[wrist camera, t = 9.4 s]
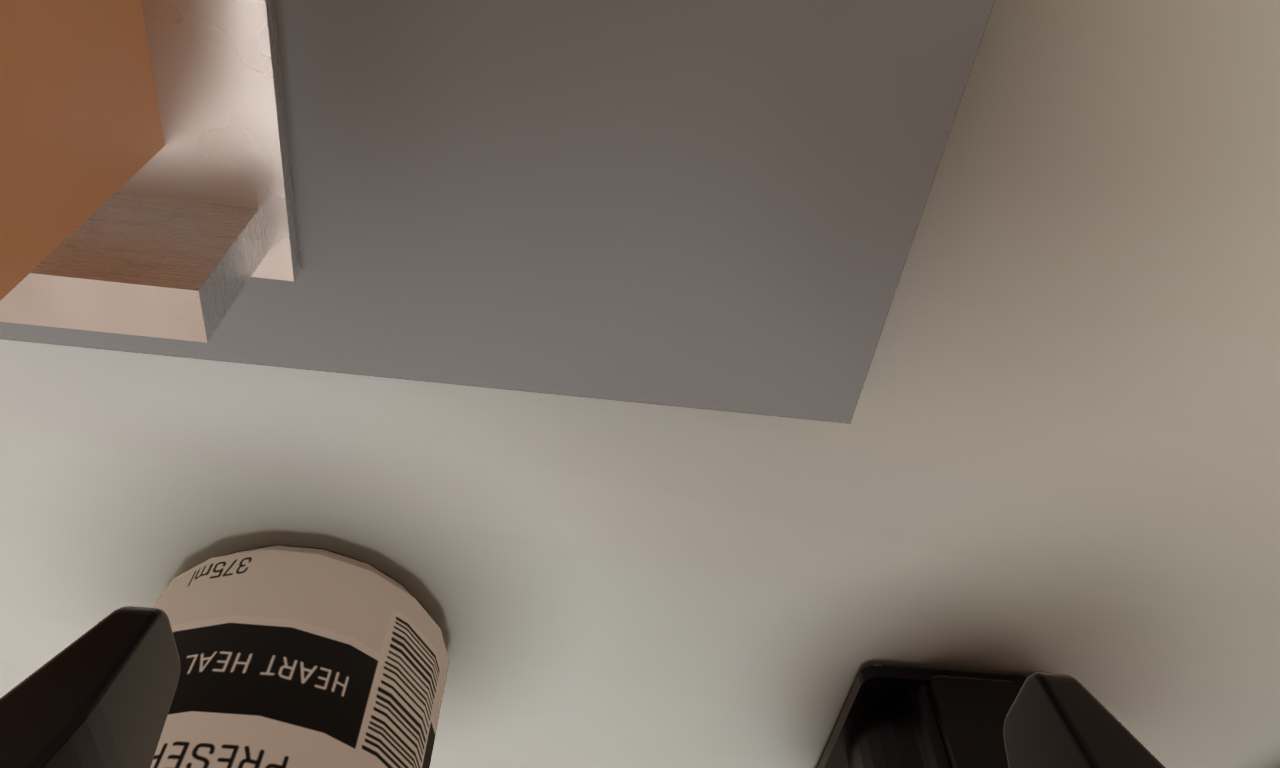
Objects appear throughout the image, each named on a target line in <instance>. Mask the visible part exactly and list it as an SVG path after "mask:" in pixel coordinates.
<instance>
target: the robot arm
mask: <svg viewBox="0 0 1280 768" xmlns="http://www.w3.org/2000/svg"><path fill="white" fill-rule="evenodd" d="M179 676H180V657H179V654H178V650H177V647H176V643H175V639H174V636H173V632H172V628H171V625H170V621H169V618H168V616H167V614H166V613H165V612H164V611H163V610H162V609H158V608H146V607H132V606H129V607H122V608H120V609H117V610H115V611H114V612H112V613H111V614H110V615H108V616H107V617H106V618H104V619H103V620H102V621H100V622H99V623H98V624H97V625H95V626H94V627H93V628H91V629H90V630H89V631H87V632H86V633H85V634H84V635H82V636H81V637H80V638H78V639H77V640H76V641H74V642H73V643H72V644H71V645H69V646H68V647H67V648H65V649H64V650H63V651H61V652H60V653H59V654H58V655H56V656H55V657H54V658H52V659H51V660H50V661H48V662H47V663H46V664H45V665H43V666H42V667H41V668H39V669H38V670H37V671H35V672H34V673H33V674H32V675H30V676H29V677H28V678H26V679H25V680H24V681H22V682H21V683H20V684H19V685H17V686H16V687H15V688H13V689H12V690H11V691H9V692H8V693H7V694H5V695H4V696H3V697H2V698H0V768H150V767H151V764H152V761H153V758H154V755H155V752H156V749H157V746H158V743H159V740H160V737H161V734H162V731H163V728H164V725H165V722H166V719H167V715H168V712H169V709H170V706H171V703H172V700H173V697H174V694H175V691H176V688H177V685H178V681H179ZM817 768H1165V767H1164V766H1163V765H1162V764H1161V763H1160V762H1159V761H1158V760H1157V759H1156V758H1155V757H1154V756H1153V755H1152V754H1151V753H1150V752H1149V751H1148V750H1147V749H1146V748H1145V747H1144V746H1143V745H1142V744H1141V743H1140V742H1139V741H1138V740H1137V739H1136V738H1135V737H1134V736H1133V735H1132V734H1131V733H1130V732H1129V731H1128V730H1127V729H1126V728H1125V727H1124V726H1123V725H1122V724H1121V723H1120V722H1119V721H1118V720H1117V719H1116V718H1115V717H1114V716H1113V715H1112V714H1111V713H1110V712H1109V711H1108V710H1107V709H1106V708H1105V707H1104V706H1103V705H1102V704H1101V703H1100V702H1099V701H1098V700H1097V699H1096V698H1095V697H1094V696H1093V695H1092V694H1091V693H1090V692H1089V691H1088V690H1087V689H1086V688H1085V687H1084V686H1083V685H1082V684H1081V683H1080V682H1078V681H1077V680H1076V679H1075V678H1073V677H1071V676H1069V675H1066V674H1057V673H1043V672H1035V673H1033V674H1031V675H1030V676H1028V677H1022V676H1009V675H995V674H982V673H969V672H956V671H943V670H930V669H917V668H904V667H891V666H870V667H867V668H865V669H863V670H862V671H861V672H860V673H859V674H858V676H857V678H856V681H855V683H854V685H853V687H852V690H851V692H850V694H849V697H848V699H847V701H846V703H845V706H844V708H843V710H842V713H841V715H840V717H839V719H838V722H837V724H836V726H835V728H834V731H833V733H832V735H831V738H830V740H829V742H828V744H827V747H826V749H825V751H824V754H823V756H822V758H821V760H820V763H819V765H818V767H817Z"/></svg>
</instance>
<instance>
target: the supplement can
mask: <svg viewBox="0 0 1280 768" xmlns="http://www.w3.org/2000/svg"><path fill="white" fill-rule="evenodd" d="M153 608H158V609H162V610H163V611H164V612H165V613H166V614H167V616H168V618H169V621H170V625H171V628H172V632H173V636H174V639H175V643H176V647H177V650H178V654H179V657H180V676H179V681H178V685H177V688H176V691H175V694H174V697H173V700H172V703H171V706H170V709H169V712H168V715H167V719H166V722H165V725H164V728H163V731H162V734H161V737H160V740H159V743H158V746H157V749H156V752H155V755H154V758H153V761H152V764H151V767H150V768H429V766H430V761H431V755H432V750H433V745H434V739H435V734H436V729H437V723H438V718H439V713H440V708H441V702H442V697H443V692H444V686H445V681H446V676H447V670H448V665H449V659H448V655H447V651H446V647H445V643H444V640H443V636H442V632H441V629H440V628H439V627H438V625H437V624H436V623H435V622H434V621H433V619H432V618H431V617H430V616H429V615H428V613H427V612H426V611H425V610H424V609H423V607H422V606H421V605H420V604H419V603H418V601H417V600H416V599H415V598H414V597H412V596H411V595H410V594H409V593H408V592H407V590H406V589H405V588H404V587H403V586H402V585H401V584H399V583H397V582H396V581H394V580H393V579H391V578H389V577H388V576H386V575H385V574H383V573H381V572H380V571H378V570H377V569H375V568H373V567H372V566H370V565H369V564H367V563H364V562H361V561H357V560H354V559H351V558H348V557H345V556H342V555H339V554H336V553H333V552H330V551H327V550H323V549H312V548H300V547H288V546H271V547H265V548H259V549H253V550H248V551H242V552H236V553H233V554H231V555H226V556H220V557H214V558H210V559H208V560H206V561H205V562H203V563H201V564H199V565H197V566H195V567H193V568H192V569H190V570H188V571H186V572H184V573H182V574H181V575H179V576H177V577H175V578H173V579H172V581H171V582H170V584H169V585H168V587H167V588H166V590H165V591H164V593H163V594H162V595H161V597H160V598H159V600H158V601H157V603H156V604H155V606H154V607H153Z"/></svg>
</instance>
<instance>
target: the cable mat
mask: <svg viewBox="0 0 1280 768" xmlns="http://www.w3.org/2000/svg"><path fill="white" fill-rule="evenodd" d="M994 2H995V0H276V10H277V20H278V31H279V41H280V52H281V63H282V73H283V84H284V94H285V105H286V115H287V126H288V136H289V147H290V157H291V168H292V178H293V189H294V199H295V210H296V220H297V231H298V241H299V252H300V262H301V270H300V272H299V273H298V275H297V277H296V279H295V280H294V281H285V280H276V279H266V278H257V277H251V278H250V279H249V281H248V282H247V284H246V285H245V287H244V288H243V290H242V291H241V293H240V294H239V296H238V297H237V299H236V300H235V302H234V303H233V305H232V306H231V308H230V309H229V311H228V312H227V314H226V315H225V317H224V318H223V320H222V321H221V323H220V324H219V326H218V328H217V329H216V331H215V332H214V334H213V335H212V337H211V338H210V340H209V341H208V343H206V342H196V341H186V340H176V339H167V338H157V337H147V336H137V335H127V334H117V333H107V332H97V331H87V330H77V329H67V328H58V327H48V326H38V325H28V324H18V323H8V322H0V339H4V340H14V341H24V342H34V343H44V344H54V345H64V346H75V347H85V348H95V349H105V350H115V351H125V352H135V353H145V354H155V355H165V356H175V357H185V358H195V359H205V360H215V361H225V362H235V363H246V364H256V365H266V366H276V367H286V368H296V369H306V370H316V371H326V372H336V373H346V374H356V375H366V376H376V377H386V378H396V379H406V380H416V381H427V382H437V383H447V384H457V385H467V386H477V387H487V388H497V389H507V390H517V391H527V392H537V393H547V394H557V395H567V396H577V397H587V398H598V399H608V400H618V401H628V402H638V403H648V404H658V405H668V406H678V407H688V408H698V409H708V410H718V411H728V412H738V413H748V414H758V415H768V416H779V417H789V418H799V419H809V420H819V421H829V422H839V423H849V424H850V423H851V420H852V417H853V414H854V411H855V408H856V405H857V402H858V399H859V396H860V393H861V390H862V388H863V385H864V382H865V379H866V376H867V373H868V370H869V367H870V364H871V361H872V358H873V355H874V352H875V350H876V347H877V344H878V341H879V338H880V335H881V332H882V329H883V326H884V323H885V320H886V317H887V314H888V312H889V309H890V306H891V303H892V300H893V297H894V294H895V291H896V288H897V285H898V282H899V279H900V276H901V274H902V271H903V268H904V265H905V262H906V259H907V256H908V253H909V250H910V247H911V244H912V241H913V238H914V236H915V233H916V230H917V227H918V224H919V221H920V218H921V215H922V212H923V209H924V206H925V203H926V201H927V198H928V195H929V192H930V189H931V186H932V183H933V180H934V177H935V174H936V171H937V168H938V165H939V163H940V160H941V157H942V154H943V151H944V148H945V145H946V142H947V139H948V136H949V133H950V130H951V127H952V125H953V122H954V119H955V116H956V113H957V110H958V107H959V104H960V101H961V98H962V95H963V92H964V89H965V87H966V84H967V81H968V78H969V75H970V72H971V69H972V66H973V63H974V60H975V57H976V54H977V51H978V49H979V46H980V43H981V40H982V37H983V34H984V31H985V28H986V25H987V22H988V19H989V16H990V13H991V11H992V8H993V5H994Z"/></svg>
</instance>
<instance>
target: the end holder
mask: <svg viewBox="0 0 1280 768" xmlns="http://www.w3.org/2000/svg"><path fill="white" fill-rule="evenodd" d="M141 6H142V11H143V17H144V23H145V29H146V35H147V41H148V47H149V53H150V59H151V65H152V71H153V77H154V83H155V89H156V95H157V101H158V107H159V113H160V119H161V125H162V131H163V137H164V143H165V146H164V147H163V148H162V149H161V150H160V151H159V152H158V153H157V154H156V155H155V156H154V157H152V158H151V159H150V160H149V161H148V162H147V163H146V164H145V165H144V166H143V167H142V168H141V169H140V170H139V171H138V172H137V173H136V174H134V175H133V176H132V177H131V178H130V179H129V180H128V181H127V182H126V183H125V184H124V185H123V186H122V187H121V188H120V189H119V190H117V191H116V192H115V193H114V194H113V195H112V196H111V197H110V198H109V199H108V200H107V201H106V202H105V203H104V204H103V205H102V206H100V207H99V208H98V209H97V210H96V211H95V212H94V213H93V214H92V215H91V216H90V217H89V218H88V219H87V220H86V221H85V222H83V223H82V224H81V225H80V226H79V227H78V228H77V229H76V230H75V231H74V232H73V233H72V234H71V235H70V236H69V237H68V238H67V239H65V240H64V241H63V242H62V243H61V244H60V245H59V246H58V247H57V248H56V249H55V250H54V251H53V252H52V253H51V254H50V255H48V256H47V257H46V258H45V259H44V260H43V261H42V262H41V263H40V264H39V265H38V266H37V267H36V268H35V269H34V270H33V271H31V272H30V273H29V274H28V275H27V276H26V277H25V278H24V279H23V280H22V281H21V282H20V283H19V284H18V285H17V286H16V287H15V288H13V289H12V290H11V291H10V292H9V293H8V294H7V295H6V296H5V297H4V298H3V299H2V300H1V301H0V322H8V323H18V324H28V325H38V326H48V327H58V328H67V329H77V330H87V331H97V332H107V333H117V334H127V335H137V336H147V337H157V338H167V339H176V340H186V341H196V342H206V343H208V341H209V340H210V338H211V337H212V335H213V334H214V332H215V331H216V329H217V328H218V326H219V324H220V323H221V321H222V320H223V318H224V317H225V315H226V314H227V312H228V311H229V309H230V308H231V306H232V305H233V303H234V302H235V300H236V299H237V297H238V296H239V294H240V293H241V291H242V290H243V288H244V287H245V285H246V284H247V282H248V281H249V279H250V278H251V277H257V278H266V279H276V280H285V281H294V280H295V279H296V277H297V275H298V273H299V272H300V270H301V262H300V252H299V241H298V231H297V220H296V210H295V199H294V189H293V178H292V168H291V157H290V147H289V136H288V126H287V115H286V105H285V94H284V84H283V73H282V63H281V52H280V41H279V31H278V20H277V10H276V0H141Z"/></svg>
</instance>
